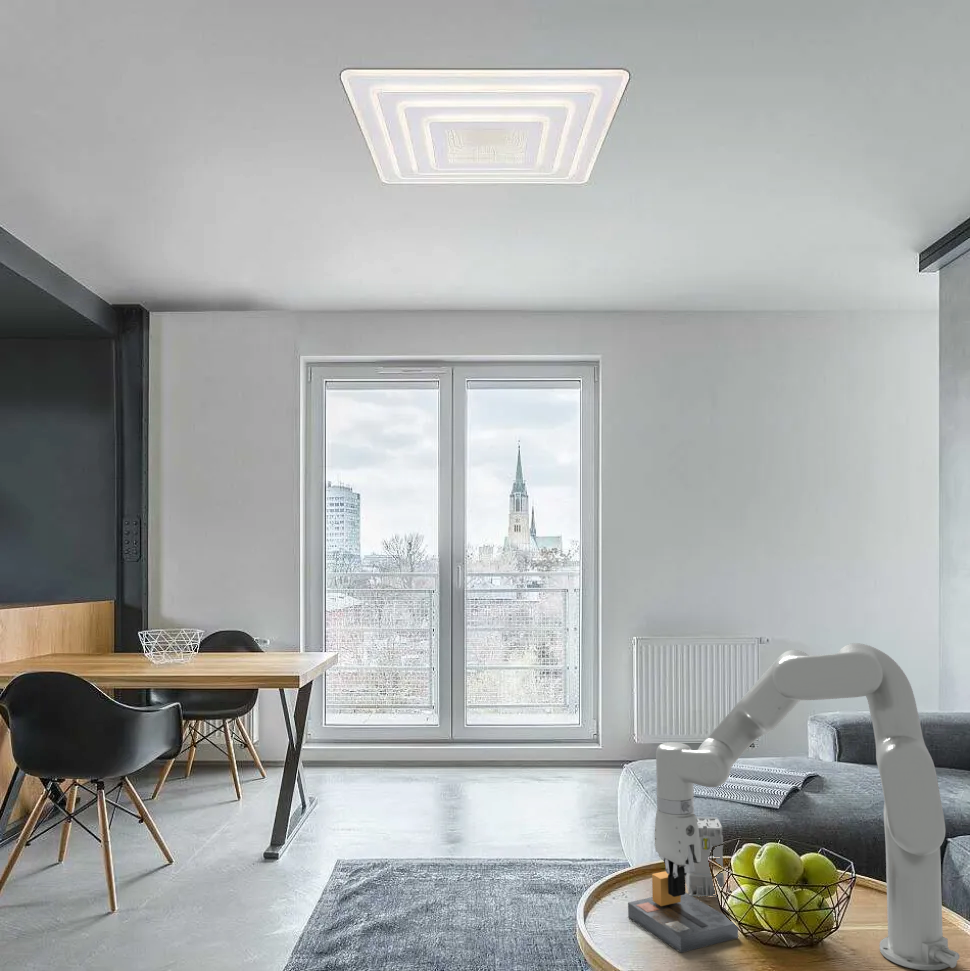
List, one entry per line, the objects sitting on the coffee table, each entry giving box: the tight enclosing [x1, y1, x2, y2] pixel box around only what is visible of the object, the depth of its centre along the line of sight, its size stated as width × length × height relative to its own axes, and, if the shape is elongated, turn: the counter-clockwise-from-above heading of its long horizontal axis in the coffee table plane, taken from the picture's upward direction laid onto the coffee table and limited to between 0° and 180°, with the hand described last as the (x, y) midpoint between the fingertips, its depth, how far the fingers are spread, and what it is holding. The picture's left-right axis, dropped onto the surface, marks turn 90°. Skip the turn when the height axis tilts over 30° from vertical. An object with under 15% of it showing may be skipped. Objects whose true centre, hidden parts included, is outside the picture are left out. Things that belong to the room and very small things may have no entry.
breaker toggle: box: [651, 870, 681, 906], centre depth 195 cm, size 3×5×6 cm, turn 115°
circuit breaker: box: [685, 816, 725, 898], centre depth 213 cm, size 8×14×15 cm, turn 174°
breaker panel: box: [627, 891, 739, 954], centre depth 190 cm, size 18×14×3 cm
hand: (676, 894), depth 192 cm, fingers closed
